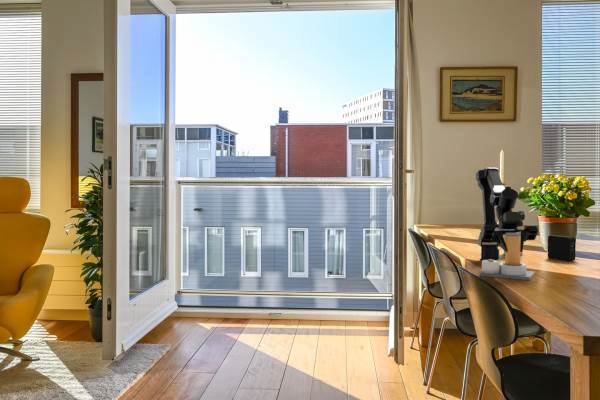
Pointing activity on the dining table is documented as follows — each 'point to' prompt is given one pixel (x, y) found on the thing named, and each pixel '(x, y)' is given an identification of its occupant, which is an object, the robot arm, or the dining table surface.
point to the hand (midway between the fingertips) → (513, 251)
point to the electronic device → (561, 247)
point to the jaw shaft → (512, 248)
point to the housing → (505, 270)
